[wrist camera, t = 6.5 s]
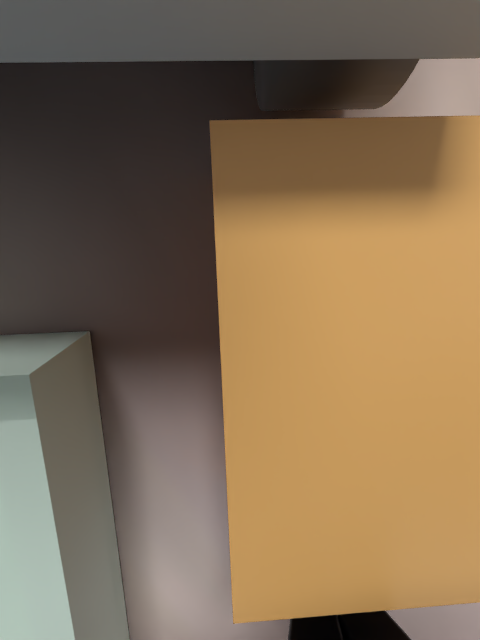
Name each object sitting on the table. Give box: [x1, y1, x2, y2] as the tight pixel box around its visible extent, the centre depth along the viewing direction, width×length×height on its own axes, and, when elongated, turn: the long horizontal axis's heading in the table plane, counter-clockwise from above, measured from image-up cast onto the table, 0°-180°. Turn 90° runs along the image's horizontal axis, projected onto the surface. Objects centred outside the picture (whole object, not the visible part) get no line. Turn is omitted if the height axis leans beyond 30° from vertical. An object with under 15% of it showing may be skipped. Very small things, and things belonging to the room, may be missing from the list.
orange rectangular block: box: [210, 116, 480, 624], centre depth 7 cm, size 7×4×4 cm, turn 2°
